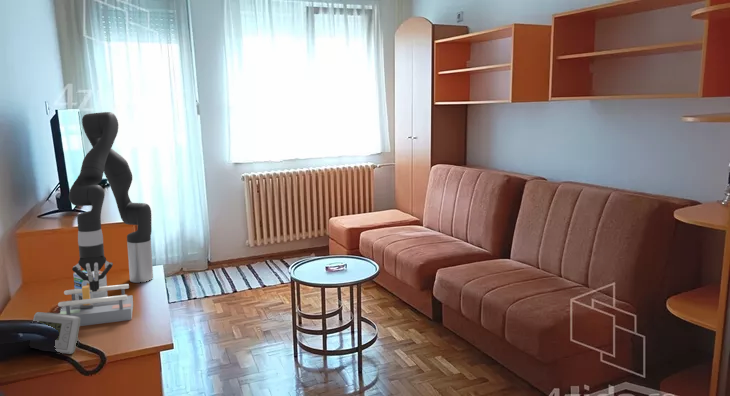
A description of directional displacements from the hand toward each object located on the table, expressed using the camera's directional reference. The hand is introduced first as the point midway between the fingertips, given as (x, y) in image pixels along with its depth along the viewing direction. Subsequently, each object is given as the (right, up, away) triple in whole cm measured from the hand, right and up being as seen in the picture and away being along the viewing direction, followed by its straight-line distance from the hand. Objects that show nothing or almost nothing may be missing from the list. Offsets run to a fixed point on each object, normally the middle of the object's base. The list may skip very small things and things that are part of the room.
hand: (94, 290), depth 180 cm
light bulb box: (-10, -7, +18) cm, 22 cm away
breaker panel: (0, -9, +2) cm, 10 cm away
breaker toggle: (-3, -5, 0) cm, 6 cm away
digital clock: (0, -14, -23) cm, 27 cm away
